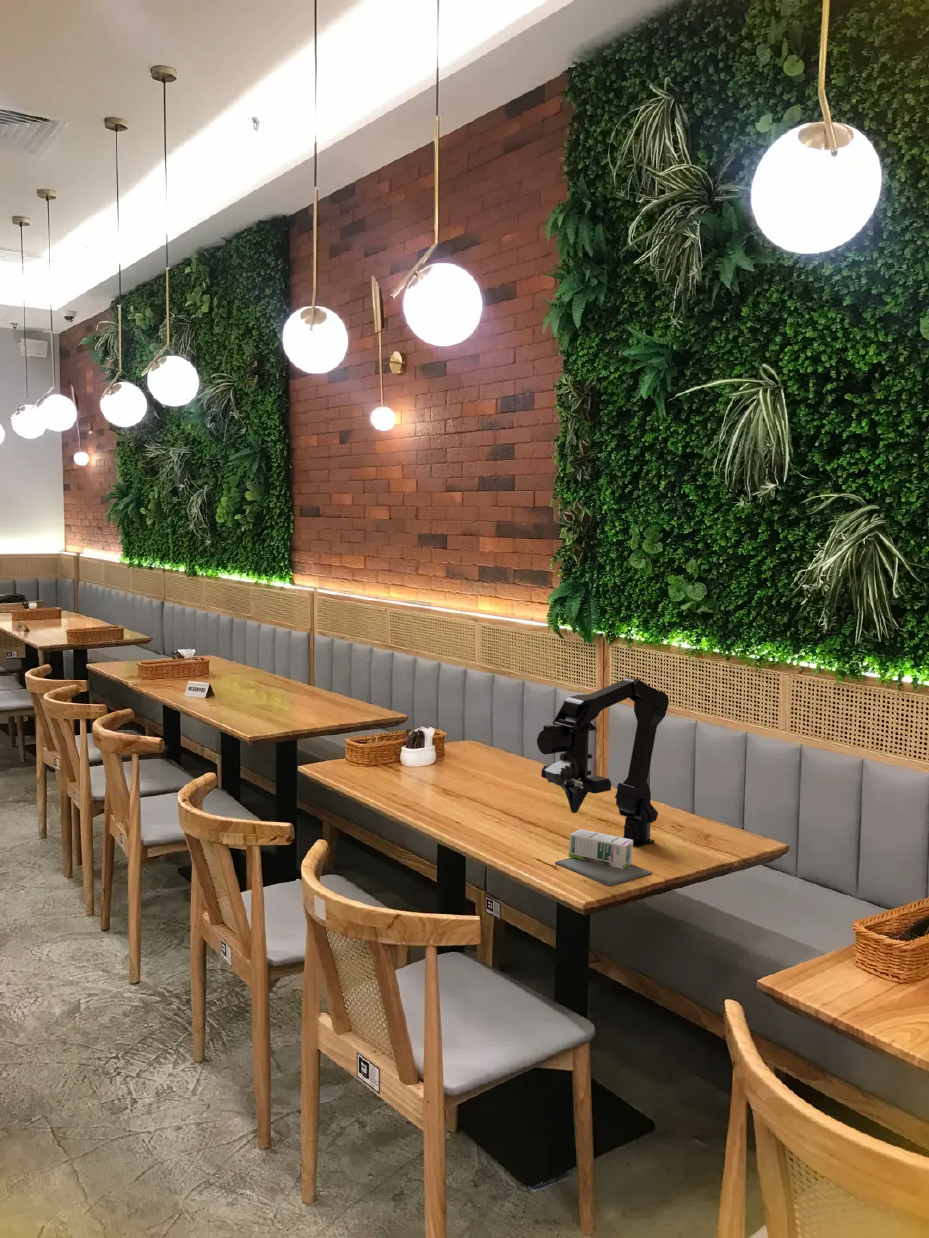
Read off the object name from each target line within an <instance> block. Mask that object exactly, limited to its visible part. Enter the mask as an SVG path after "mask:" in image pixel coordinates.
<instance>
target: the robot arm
mask: <svg viewBox="0 0 929 1238" xmlns="http://www.w3.org/2000/svg"><path fill="white" fill-rule="evenodd" d="M627 699H629V700H630V701H632V702H633V703H634V705H633V712H634V716H635V719H636V721H637V724H636V729H635V735H634V740H633V745H632V746H633V747H632V752H631V757H630V763H629V768H628V773H627V777H626V778H625V780H624V781H623V782H619V783H618V784H617V786H616V787H617V788H616V794H615V796H614V798H615V799H616V800H615V804H616V806H617V808H618V812H619V815H620V816H623V817H625V819H624V827H623V836H622V837H621V838H626V839H631V840H633V846H635V847H642V846H646V845H648V844H652V843H655V839H653V838H651V824H653V823H654V822H656V821H657V818H658V816H659V812H658V811H657V809H656V808H655V807H654V806H653V804H652V803H651V802H652V801H651V800H652V792H651V789H650V786H649V783H648V780H649V779H648V778H649V772H650V768H651V767H650V766H651V762H652V755H653V750H654V745H655V741H656V740H655V738H656V734H657V728H658V725H659V724H660V723H661V722H662V721H663V720H664V719H665V717H666V714H667V711H668V707H669V705H670V703H669V702H670V701H669V697H668V696H667V694H666V693H665V692H664V691H661V690H658V689H656V688H654V687H652V686H650V685H648V684H646V683H645V682H644V681H642V680H641V679H639V678H634V677H630V676H629V677H628V676H627V677H624V678H623V679H621V680H619V681H616V682H615V683H612V684H610V685H608V686H606V687H604V688H602V689H599V690H597V691H594V692H592V693H588V694H577V695H572V696H568V697H566V698H565V699H564V700H563V704H562V706H561V708H559V710H558V712H557V714H556V716H555V717H554V719H553V721H552V724H551V725H550V724H544V725H543V727H542V728H543V729H542V730H541V731H539V733H538V736H537V738H536V744H537V748H538V750H539V752H540V753H541V754H543V755H551V754H552V755H553V754H559V753H560V755H559V760H558V761H555V762H554V763H552V764H548V765H544V766H543V767H542V769H541V778H543V779H546V780H547V783H549V784H550V783H552V784H554V785H556V786H558V787H560V788H561V789H562V790H563V791H564V794H565V795H566V798H567V799H566V800H567V801H568V804H569V805H568V806H569V808H570V812H571V813H572V814H577V813H578V811H579V809H580V808H581V806H582V804H583V802H584V801H585V798H586V796H587V795H588V793H590V794H600V793H605V792H610V791H612V781H611V780H610V778H609V777H604V776H601V775H594V776H591V775H592V770H590V769H588V768H589V767H588V766H589V760H591V759H592V758H593V753H590V752H589V745H590V744H589V743H590V742H589V741H590V732H591V731H592V732H593V731H596V730H597V727H596V726H595V725H593V724H592V721H593V720H595V719H596V718H598V716H599V715H600V713H601V712H602V711H603V710H604V709H607V708H609V707H612V706H614V705H615V704H618V703H620V702H622V701H624V700H627ZM588 776H589V777H588Z"/></svg>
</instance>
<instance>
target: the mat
mask: <svg viewBox="0 0 929 1238" xmlns="http://www.w3.org/2000/svg"><path fill="white" fill-rule="evenodd" d="M554 864H555V865H557V866H560V867H561V868H563V869H566V870H569V871H572V872H574V873H576V874H579V875H581V876H584V877H586V878H589V879H591V880H593V881H596V882H599V883H601V884H602V885H606V886H608V887H614V886H617V885H619V884H620V885H621V884H623V883H627V882H629V881H630V882H631V881H633V880H637V879H640V878H643V877H646V876H650V875H653V872H652V871H650V870H647V869H645V868H642V867H639V866H638V865H634V864H633V863H632V864H630V865H629V866H628V867H626V868H624V869H620V868H616V867H611V866H607V865H603V864H598V863H594V862H590V861H585V860H581V859H576V858H572V857H569V858H564V859H562V860H561V859H560V860H557V861H554Z"/></svg>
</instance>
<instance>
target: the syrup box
mask: <svg viewBox="0 0 929 1238" xmlns="http://www.w3.org/2000/svg"><path fill="white" fill-rule="evenodd" d="M633 846H634V845H633V840H631V839H626V838H622V837H620V836H616V835H611V834H606V833H603V832H596V831H591V830H586V829H582V828H580V829H577V830H575V831H573V832H572V833H570V834H569V848H568V849H569V850H568V857H569V858H576V859H581V860H585V861H590V862H594V863H598V864H603V865H607V866H611V867H616V868H620V869H624V868H626V867H628V866H629V865H630V864H632V865H633V850H634V847H633Z"/></svg>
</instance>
